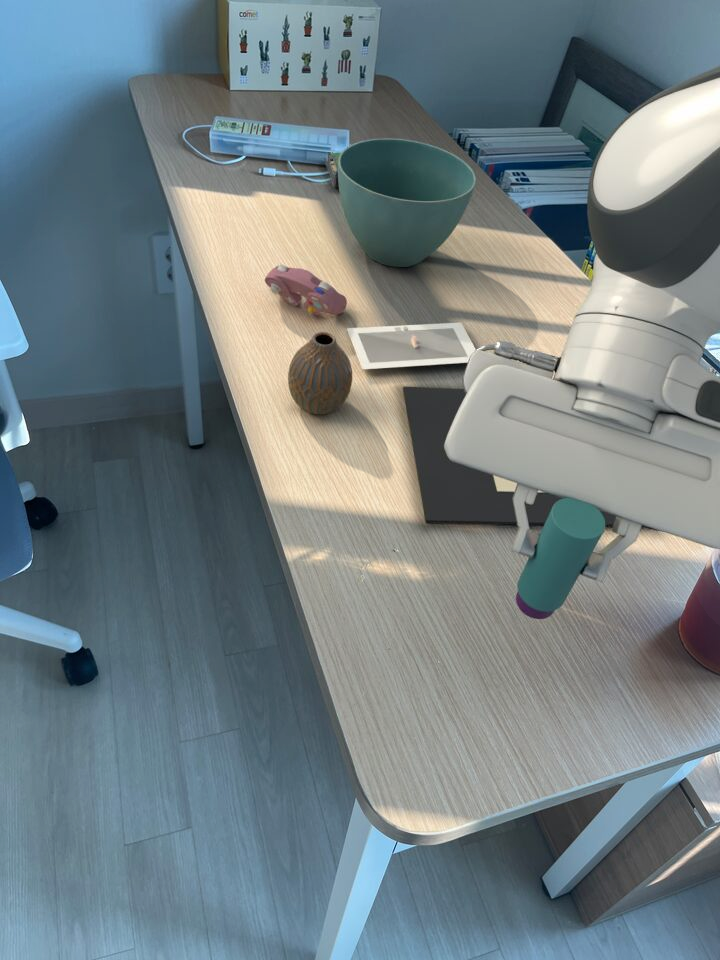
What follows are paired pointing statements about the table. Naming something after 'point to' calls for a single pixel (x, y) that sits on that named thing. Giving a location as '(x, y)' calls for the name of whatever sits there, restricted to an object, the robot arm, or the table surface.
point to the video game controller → (305, 290)
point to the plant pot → (402, 197)
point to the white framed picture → (411, 345)
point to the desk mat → (460, 469)
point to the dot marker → (559, 557)
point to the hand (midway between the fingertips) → (556, 566)
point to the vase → (320, 375)
